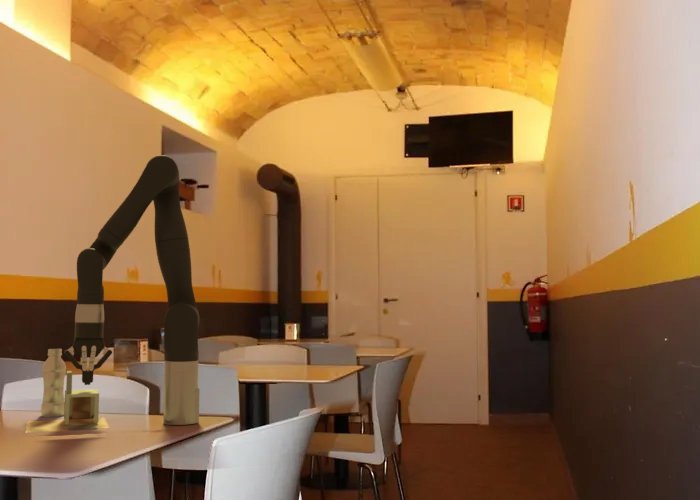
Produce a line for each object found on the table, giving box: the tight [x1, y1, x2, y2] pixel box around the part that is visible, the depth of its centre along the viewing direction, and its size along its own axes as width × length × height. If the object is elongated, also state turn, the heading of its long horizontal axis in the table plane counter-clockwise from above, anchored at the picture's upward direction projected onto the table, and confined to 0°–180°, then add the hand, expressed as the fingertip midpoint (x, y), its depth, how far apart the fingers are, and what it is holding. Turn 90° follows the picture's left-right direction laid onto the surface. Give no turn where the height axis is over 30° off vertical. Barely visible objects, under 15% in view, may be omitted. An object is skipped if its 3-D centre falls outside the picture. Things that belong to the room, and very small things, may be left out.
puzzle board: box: [25, 415, 110, 438], centre depth 199 cm, size 20×20×2 cm
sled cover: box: [63, 370, 100, 425], centre depth 205 cm, size 8×11×13 cm
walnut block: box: [72, 397, 91, 420], centre depth 204 cm, size 4×4×7 cm
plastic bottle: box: [40, 348, 67, 418], centre depth 217 cm, size 6×7×20 cm
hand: (87, 384), depth 205 cm, fingers closed
